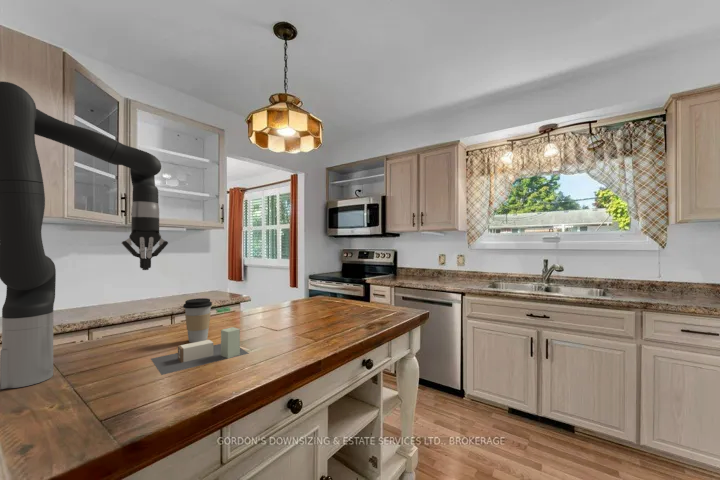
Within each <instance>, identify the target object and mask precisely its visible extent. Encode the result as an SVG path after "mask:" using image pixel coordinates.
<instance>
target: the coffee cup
mask: <svg viewBox="0 0 720 480" xmlns="http://www.w3.org/2000/svg"><path fill="white" fill-rule="evenodd" d="M212 305H213V302H212V301H211V299H210V298H207V297H202V298H192V299H188V300H187V299H186V300H185V303H184V304H183V306H182V308H183V309H184V312H185V314H184V315H185V325H186V330H187V337H188V338H187V339H188V342H189V343H195V342H200V341H205V340H208V338H209V337H208V335H209V329H210V324H211V323H210V321H211V313H212V312H211V308H212Z"/></svg>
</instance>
